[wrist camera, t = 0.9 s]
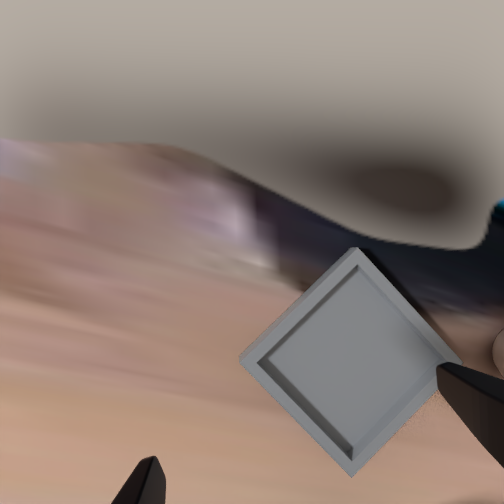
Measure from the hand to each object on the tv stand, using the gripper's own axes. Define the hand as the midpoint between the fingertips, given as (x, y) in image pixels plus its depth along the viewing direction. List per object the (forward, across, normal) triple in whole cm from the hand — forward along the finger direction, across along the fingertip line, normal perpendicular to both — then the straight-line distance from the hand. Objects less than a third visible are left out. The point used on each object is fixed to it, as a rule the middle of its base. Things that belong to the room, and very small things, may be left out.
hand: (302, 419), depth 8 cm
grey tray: (+14, -7, +10) cm, 19 cm away
